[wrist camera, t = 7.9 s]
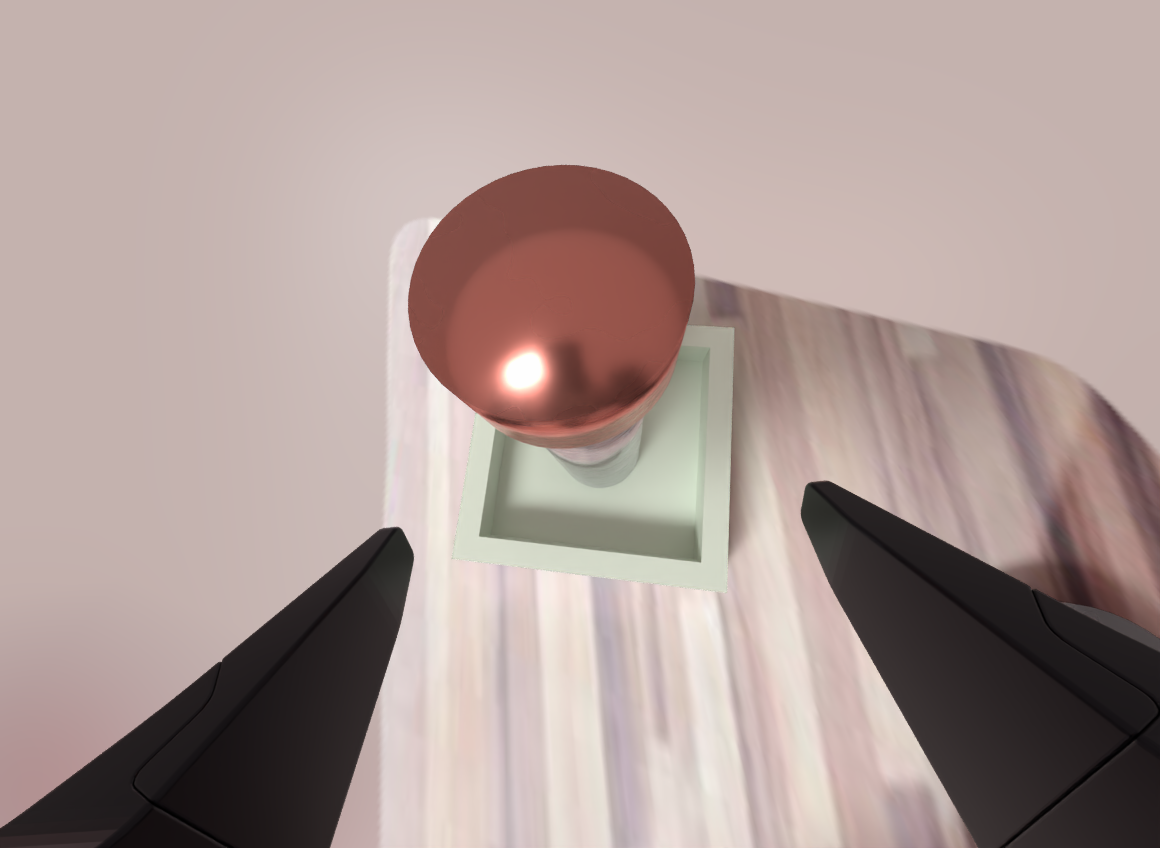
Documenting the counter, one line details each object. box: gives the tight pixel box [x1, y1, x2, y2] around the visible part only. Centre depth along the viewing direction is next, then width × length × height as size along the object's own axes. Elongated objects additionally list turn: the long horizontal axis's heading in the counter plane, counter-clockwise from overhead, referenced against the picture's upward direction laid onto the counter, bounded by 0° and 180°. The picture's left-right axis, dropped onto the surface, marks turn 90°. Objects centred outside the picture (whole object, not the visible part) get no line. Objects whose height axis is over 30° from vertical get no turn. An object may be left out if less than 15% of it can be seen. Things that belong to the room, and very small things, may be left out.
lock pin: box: [408, 165, 695, 488], centre depth 13 cm, size 5×5×13 cm
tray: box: [452, 325, 735, 593], centre depth 19 cm, size 11×11×2 cm
